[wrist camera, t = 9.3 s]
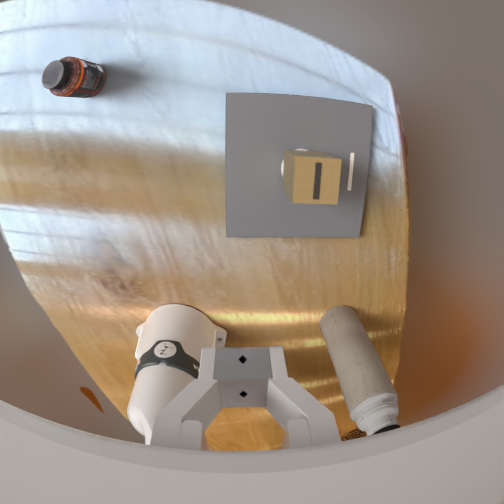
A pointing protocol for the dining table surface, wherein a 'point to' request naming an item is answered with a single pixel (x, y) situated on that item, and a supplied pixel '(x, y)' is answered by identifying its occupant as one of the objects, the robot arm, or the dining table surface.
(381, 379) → the thermos bottle
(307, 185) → the brushed gold block
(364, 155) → the stud plate
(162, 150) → the dining table surface
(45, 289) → the dining table surface
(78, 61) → the supplement bottle
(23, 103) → the dining table surface
